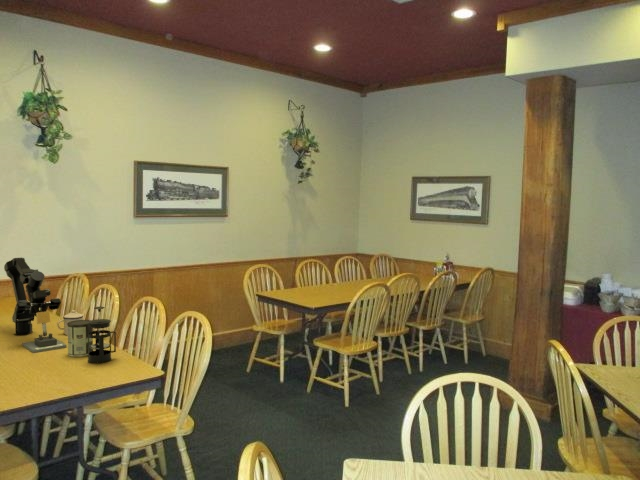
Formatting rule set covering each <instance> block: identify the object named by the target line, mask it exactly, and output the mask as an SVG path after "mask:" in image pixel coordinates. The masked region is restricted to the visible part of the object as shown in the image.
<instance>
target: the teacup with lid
mask: <svg viewBox="0 0 640 480" xmlns="http://www.w3.org/2000/svg"><path fill="white" fill-rule="evenodd" d="M75 320H84V315H83V314H82V313H79V312H77V311H76V310H74V309H72V310H71V311H70V312H68V313H67V314H65V315H63V319H61V320H59V321H57V323H56V326H57V328H58V329H59V331H61V330H62V331H63V333H64V335H66V336H68V325H67V323H68V322H71V321H75ZM61 322H62V323H63V328H62V327H60V323H61Z"/></svg>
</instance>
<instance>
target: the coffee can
mask: <svg viewBox="0 0 640 480" xmlns="http://www.w3.org/2000/svg"><path fill="white" fill-rule="evenodd" d="M91 320H92V319H91ZM91 320H90V319H83V320H75V321H71V322H68V323H67V325H68V335H67V355H68V356H69V357H72V358H73V357H74V358H75V357H76V358H79V357H81V358H82V357H86V356H87V357H88V333H89V332H92V331H94V330H93V329H94V328H93V327H92V326H91V325H90V324H88V321H91ZM92 335H94V334H92ZM93 340H94V338H89V346H90V345H92V344H94V343H93V342H94V341H93ZM91 351H94V350H93V349H90V348H89V352H91Z"/></svg>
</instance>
